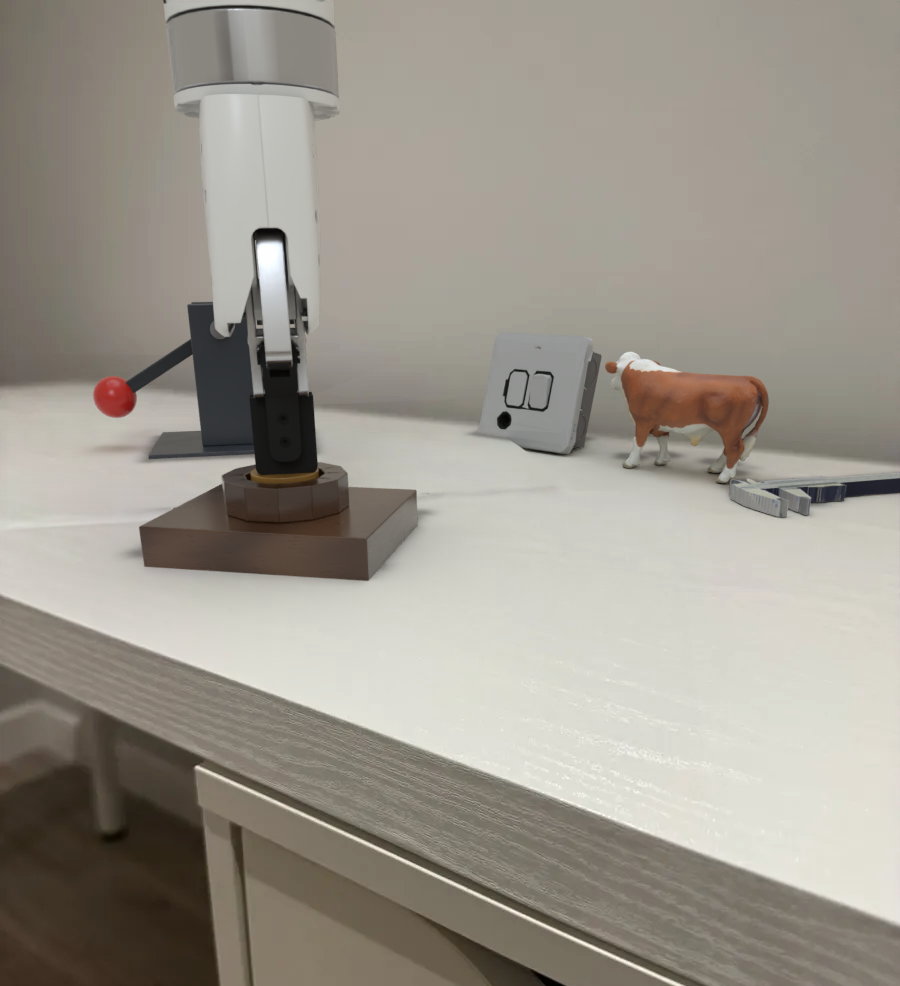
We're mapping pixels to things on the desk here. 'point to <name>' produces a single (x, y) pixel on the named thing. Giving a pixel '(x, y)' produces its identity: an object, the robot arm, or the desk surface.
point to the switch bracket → (215, 392)
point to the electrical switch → (540, 390)
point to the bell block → (283, 527)
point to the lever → (134, 384)
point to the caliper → (808, 491)
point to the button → (283, 477)
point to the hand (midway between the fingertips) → (287, 470)
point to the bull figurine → (689, 409)
